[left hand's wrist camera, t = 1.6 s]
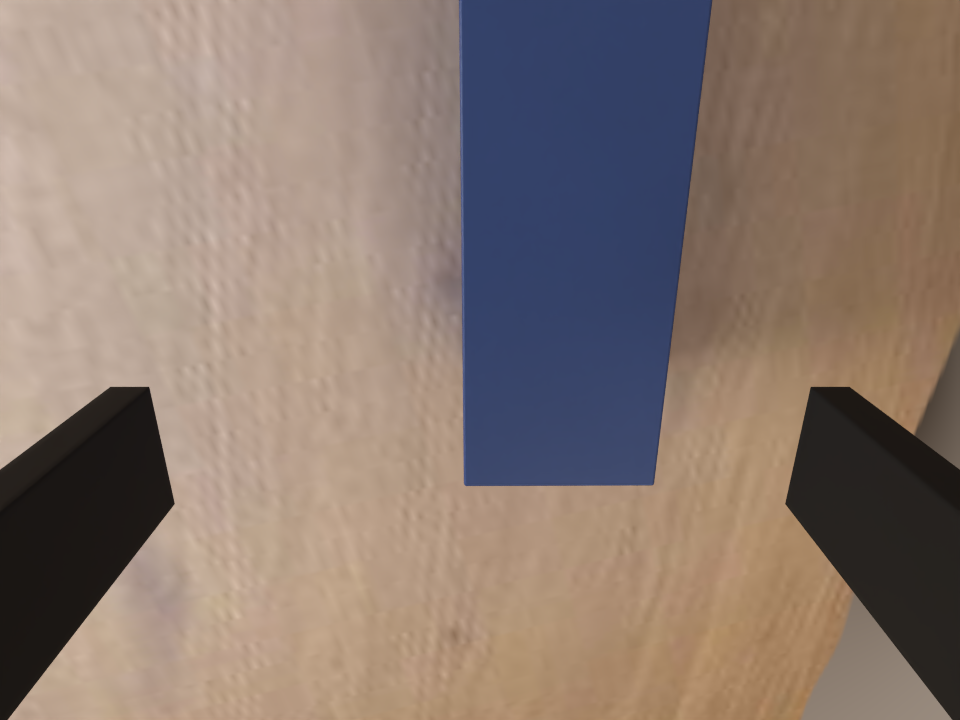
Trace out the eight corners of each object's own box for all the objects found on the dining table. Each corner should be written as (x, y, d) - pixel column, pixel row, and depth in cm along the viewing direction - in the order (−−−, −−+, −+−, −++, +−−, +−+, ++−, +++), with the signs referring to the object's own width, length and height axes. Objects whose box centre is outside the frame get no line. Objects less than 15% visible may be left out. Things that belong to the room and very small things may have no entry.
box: (597, 368, 28) (654, 486, 19) (467, 369, 28) (464, 486, 19) (643, -236, 20) (775, -508, 11) (463, -237, 20) (453, -511, 11)
